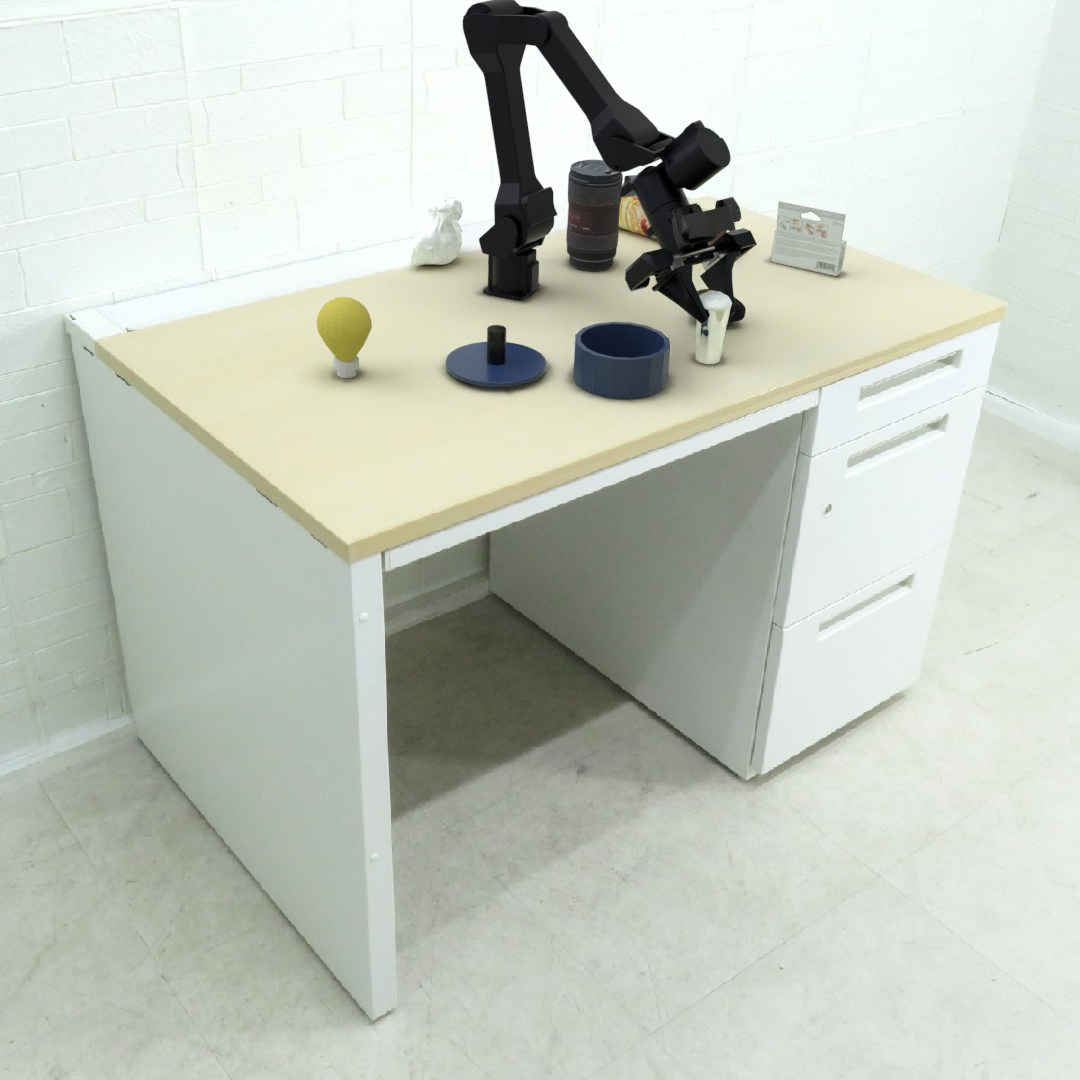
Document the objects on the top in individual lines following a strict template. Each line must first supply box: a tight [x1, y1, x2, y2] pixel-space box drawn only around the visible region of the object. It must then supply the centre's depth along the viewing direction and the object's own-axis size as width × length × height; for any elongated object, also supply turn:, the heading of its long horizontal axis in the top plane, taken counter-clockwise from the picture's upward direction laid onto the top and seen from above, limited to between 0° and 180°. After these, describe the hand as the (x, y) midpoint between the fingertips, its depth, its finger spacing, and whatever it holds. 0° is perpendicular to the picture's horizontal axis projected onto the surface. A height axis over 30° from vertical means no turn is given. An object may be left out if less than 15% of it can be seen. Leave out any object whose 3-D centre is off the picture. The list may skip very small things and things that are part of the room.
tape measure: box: [697, 288, 747, 325], centre depth 180 cm, size 7×7×4 cm
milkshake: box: [695, 290, 732, 365], centre depth 167 cm, size 4×5×10 cm
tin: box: [572, 321, 671, 400], centre depth 162 cm, size 12×12×5 cm
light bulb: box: [316, 296, 373, 379], centre depth 160 cm, size 7×7×10 cm
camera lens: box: [565, 159, 624, 272], centre depth 195 cm, size 8×8×15 cm
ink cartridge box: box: [770, 200, 848, 277], centre depth 198 cm, size 2×11×10 cm, turn 58°
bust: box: [409, 194, 463, 267], centre depth 195 cm, size 12×8×11 cm
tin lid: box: [445, 324, 547, 388], centre depth 163 cm, size 13×13×6 cm
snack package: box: [619, 183, 728, 245], centre depth 208 cm, size 21×7×7 cm, turn 47°
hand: (718, 318), depth 166 cm, fingers closed on milkshake, 4 cm apart
